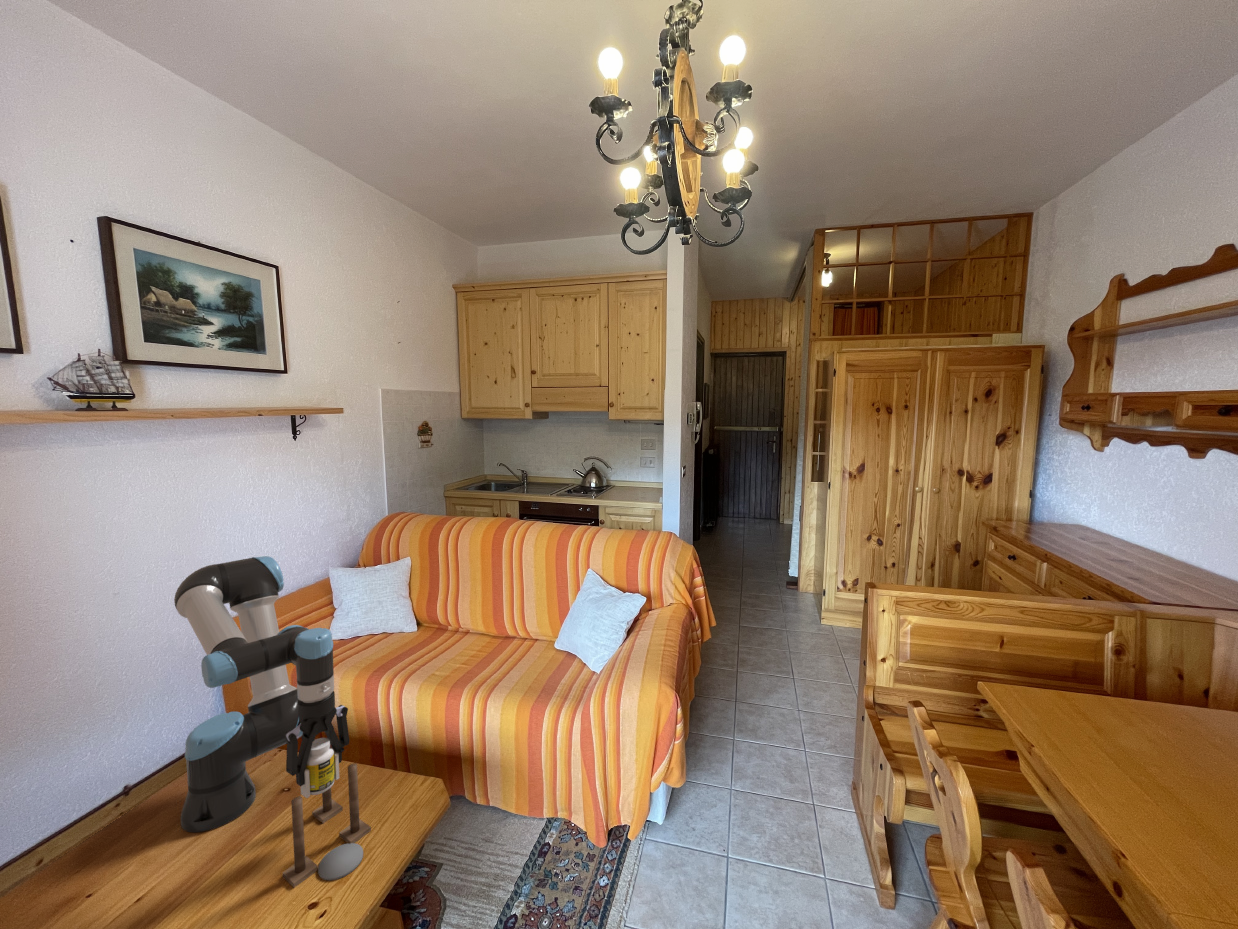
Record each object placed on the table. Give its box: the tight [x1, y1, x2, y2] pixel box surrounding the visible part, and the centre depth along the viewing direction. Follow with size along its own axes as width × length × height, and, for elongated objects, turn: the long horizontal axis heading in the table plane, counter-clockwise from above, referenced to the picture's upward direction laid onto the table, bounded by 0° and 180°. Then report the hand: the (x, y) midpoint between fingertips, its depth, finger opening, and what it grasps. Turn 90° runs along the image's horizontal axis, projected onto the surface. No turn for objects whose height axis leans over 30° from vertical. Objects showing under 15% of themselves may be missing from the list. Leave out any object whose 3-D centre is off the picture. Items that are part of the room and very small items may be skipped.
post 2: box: [311, 787, 344, 824], centre depth 125 cm, size 5×5×18 cm
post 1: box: [282, 795, 319, 889], centre depth 108 cm, size 5×5×18 cm
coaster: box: [317, 842, 364, 881], centre depth 111 cm, size 9×9×1 cm
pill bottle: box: [306, 737, 335, 796], centre depth 118 cm, size 6×6×11 cm
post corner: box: [338, 763, 372, 844], centre depth 119 cm, size 5×5×18 cm
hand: (320, 785), depth 118 cm, fingers closed on pill bottle, 6 cm apart
